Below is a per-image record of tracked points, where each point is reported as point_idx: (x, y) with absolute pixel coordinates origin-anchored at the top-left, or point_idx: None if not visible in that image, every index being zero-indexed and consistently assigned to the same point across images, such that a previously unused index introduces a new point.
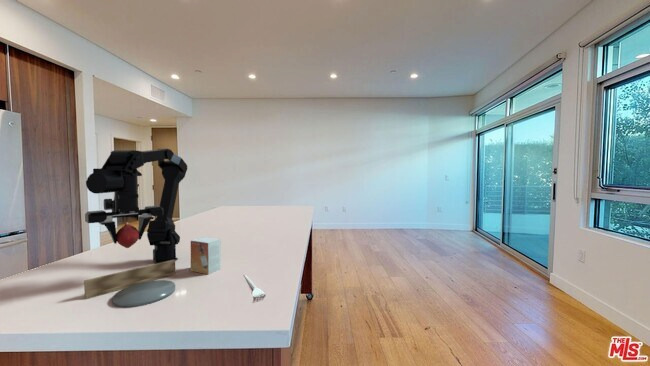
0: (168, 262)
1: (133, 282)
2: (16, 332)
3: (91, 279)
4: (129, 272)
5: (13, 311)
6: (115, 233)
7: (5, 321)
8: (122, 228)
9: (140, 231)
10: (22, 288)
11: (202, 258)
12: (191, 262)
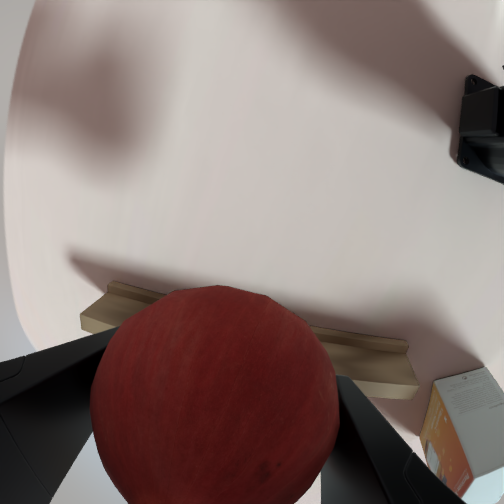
0: (385, 395)
1: None
2: (31, 343)
3: (97, 328)
4: None
5: (11, 221)
6: (76, 446)
7: (9, 271)
8: (119, 489)
9: (321, 489)
10: (45, 27)
11: (435, 462)
12: (443, 407)
